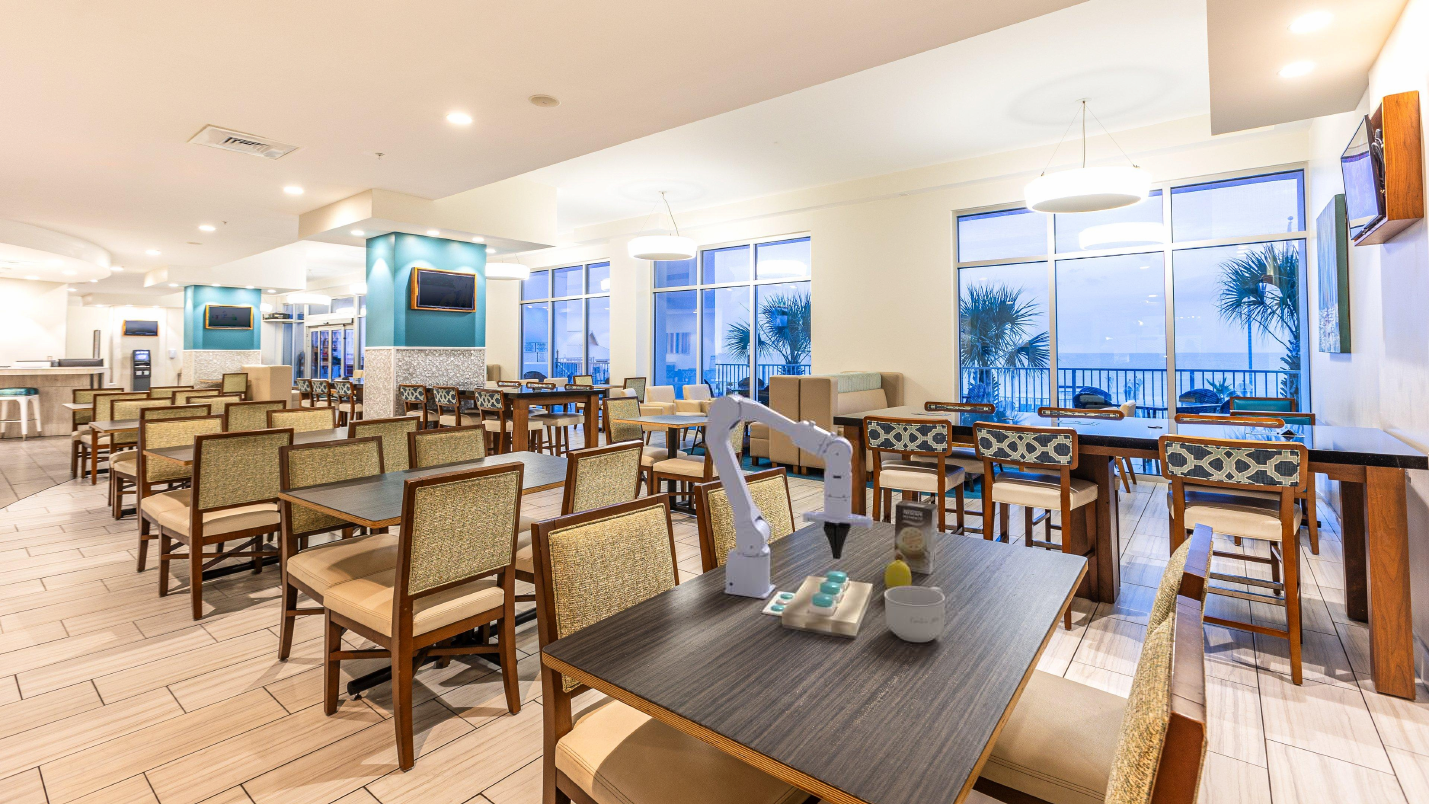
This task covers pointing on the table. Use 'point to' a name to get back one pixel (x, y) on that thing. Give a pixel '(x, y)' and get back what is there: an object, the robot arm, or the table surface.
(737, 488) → the robot arm
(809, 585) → the button board
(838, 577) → the button far
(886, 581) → the lemon
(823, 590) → the button mid
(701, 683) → the table surface
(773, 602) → the card
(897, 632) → the teacup
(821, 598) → the button near
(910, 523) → the coffee box
